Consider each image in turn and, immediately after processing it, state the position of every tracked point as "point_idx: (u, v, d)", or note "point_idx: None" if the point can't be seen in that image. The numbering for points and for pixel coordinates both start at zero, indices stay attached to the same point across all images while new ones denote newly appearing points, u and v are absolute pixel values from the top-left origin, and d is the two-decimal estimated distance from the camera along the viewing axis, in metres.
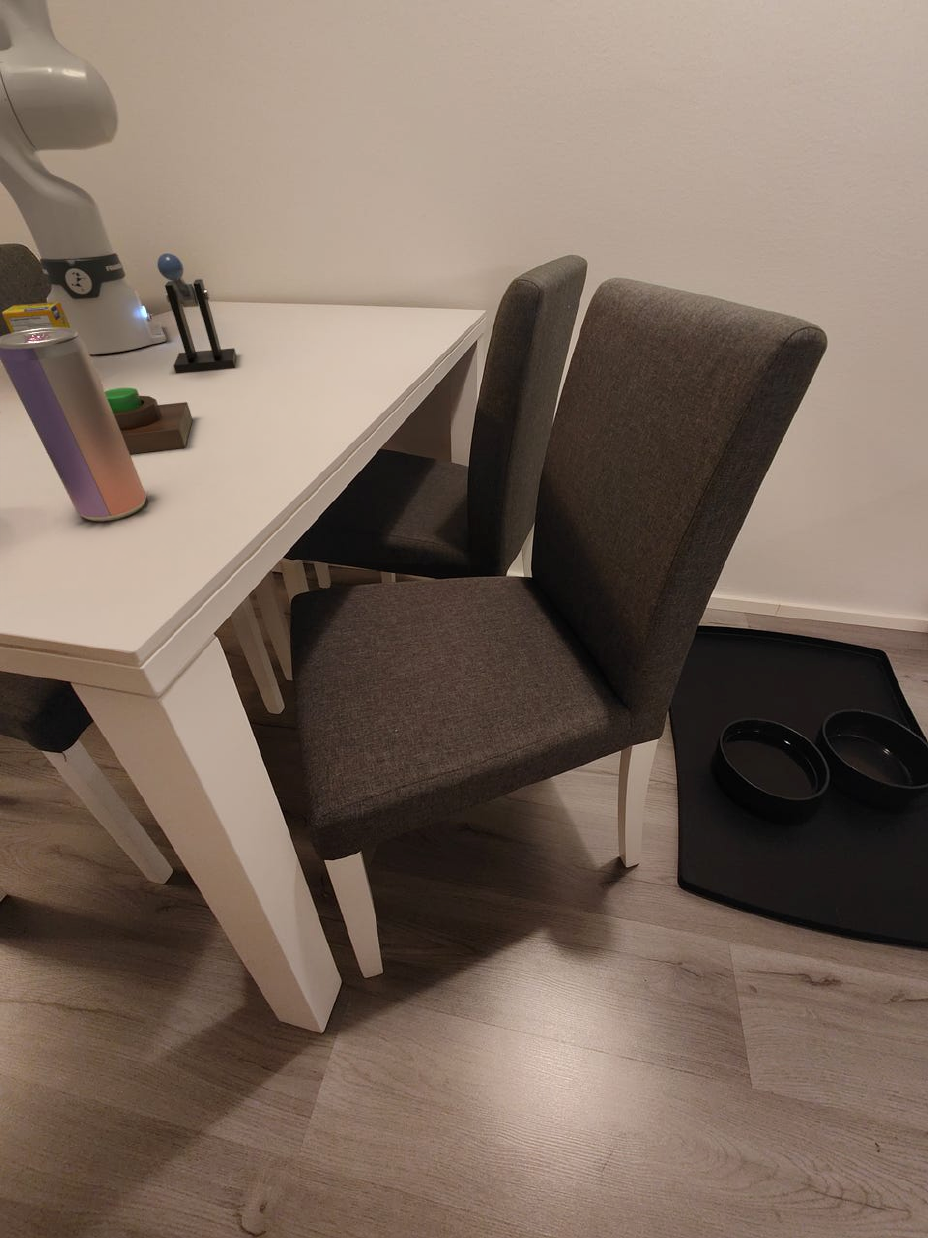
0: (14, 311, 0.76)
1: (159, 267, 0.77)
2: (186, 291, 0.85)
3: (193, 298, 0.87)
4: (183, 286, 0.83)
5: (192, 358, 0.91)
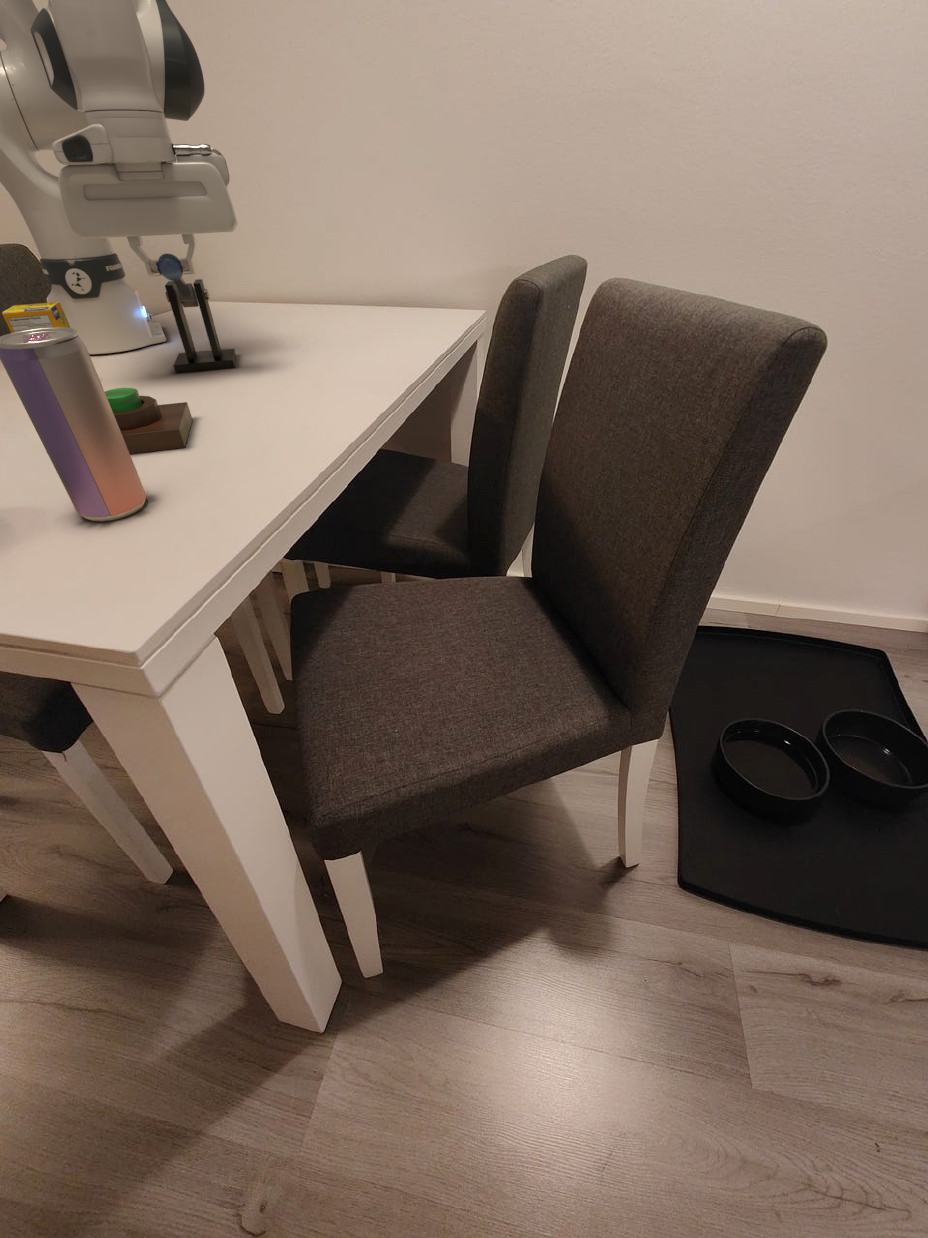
0: (14, 311, 0.76)
1: (159, 267, 0.77)
2: (186, 291, 0.85)
3: (193, 298, 0.87)
4: (183, 286, 0.83)
5: (192, 358, 0.91)
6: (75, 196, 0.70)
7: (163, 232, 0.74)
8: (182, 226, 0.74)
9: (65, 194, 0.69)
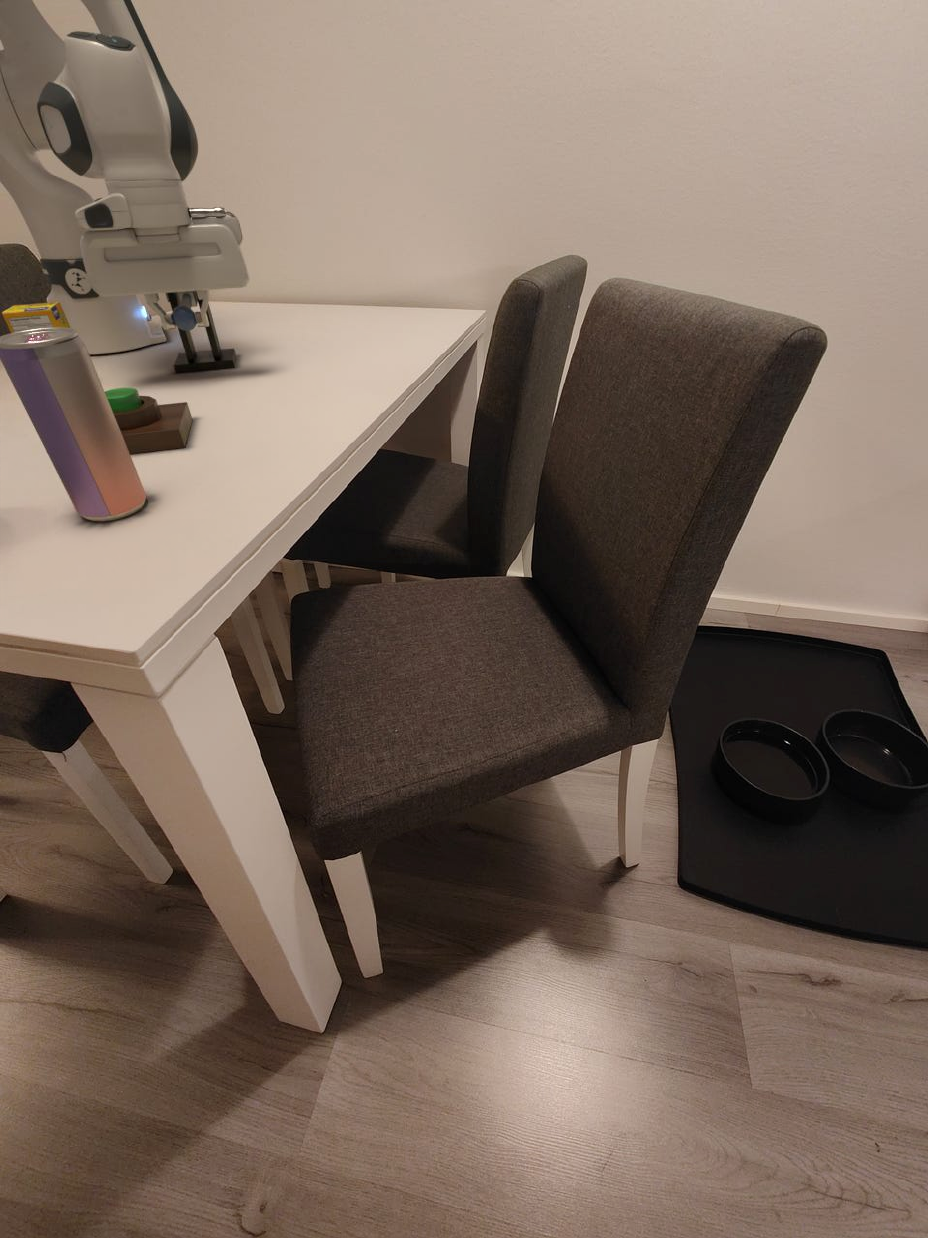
0: (14, 311, 0.76)
1: (175, 323, 0.80)
2: (190, 305, 0.86)
3: (195, 305, 0.88)
4: (189, 309, 0.85)
5: (192, 358, 0.91)
6: (95, 259, 0.73)
7: (179, 289, 0.77)
8: (197, 283, 0.78)
9: (86, 257, 0.72)
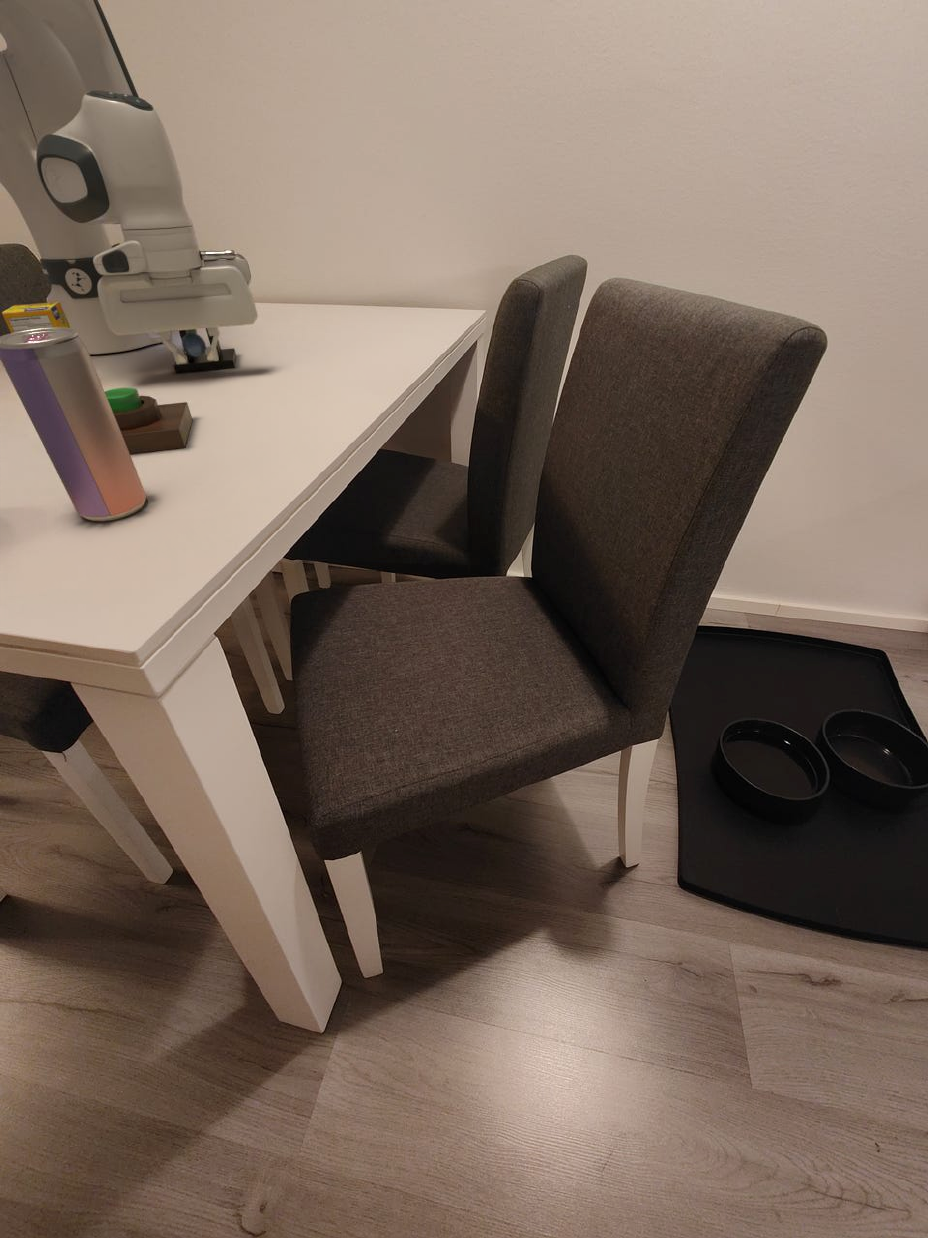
0: (14, 311, 0.76)
1: (186, 351, 0.84)
2: None
3: None
4: None
5: (192, 358, 0.91)
6: (112, 300, 0.77)
7: (190, 327, 0.81)
8: (208, 321, 0.81)
9: (103, 299, 0.76)
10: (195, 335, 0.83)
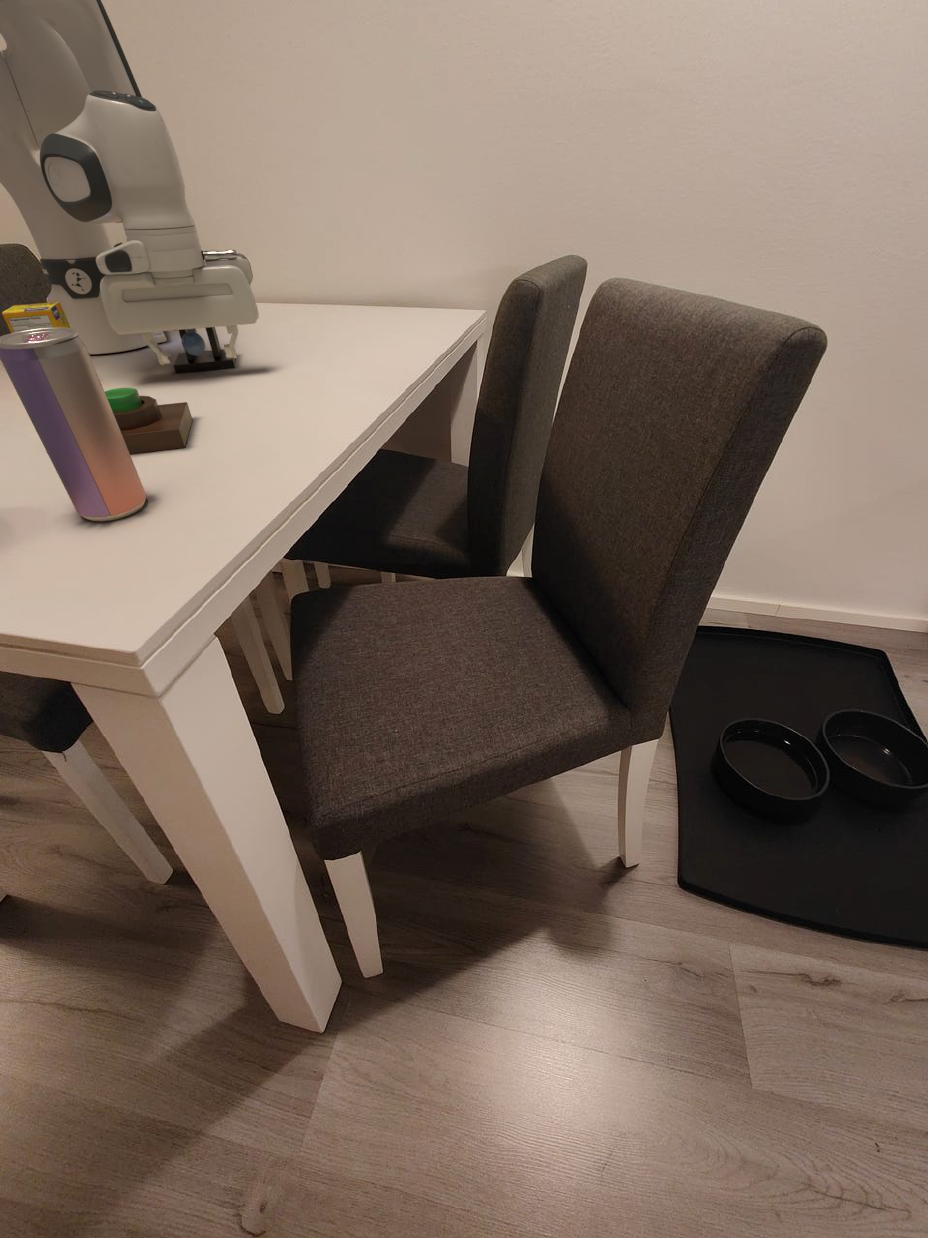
0: (14, 311, 0.76)
1: (185, 350, 0.84)
2: None
3: None
4: None
5: (192, 358, 0.91)
6: (114, 300, 0.77)
7: (192, 326, 0.82)
8: (210, 321, 0.82)
9: (105, 298, 0.76)
10: (195, 334, 0.83)
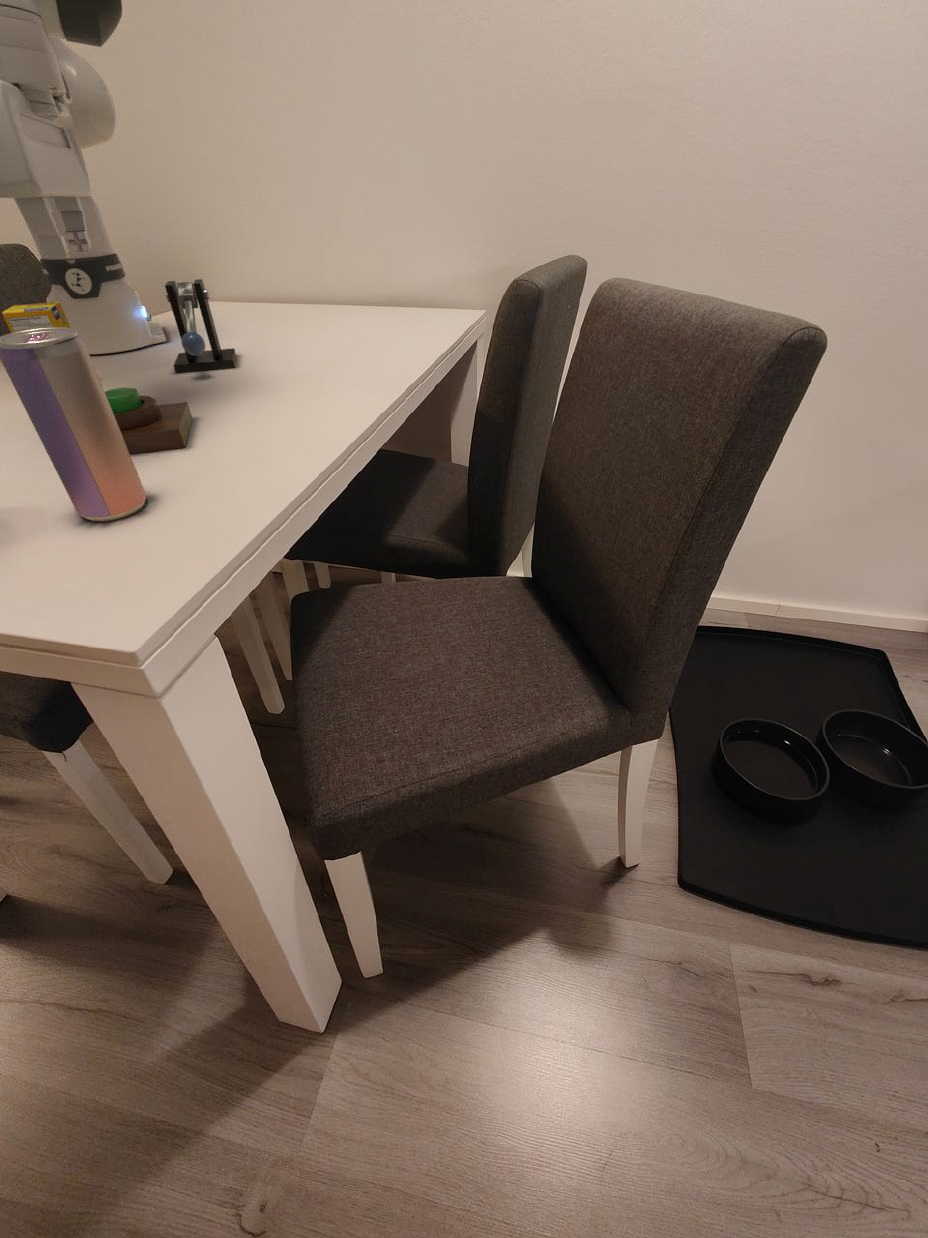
0: (14, 311, 0.76)
1: (185, 350, 0.84)
2: None
3: (196, 307, 0.88)
4: None
5: (192, 358, 0.91)
6: None
7: None
8: None
9: None
10: (195, 334, 0.83)
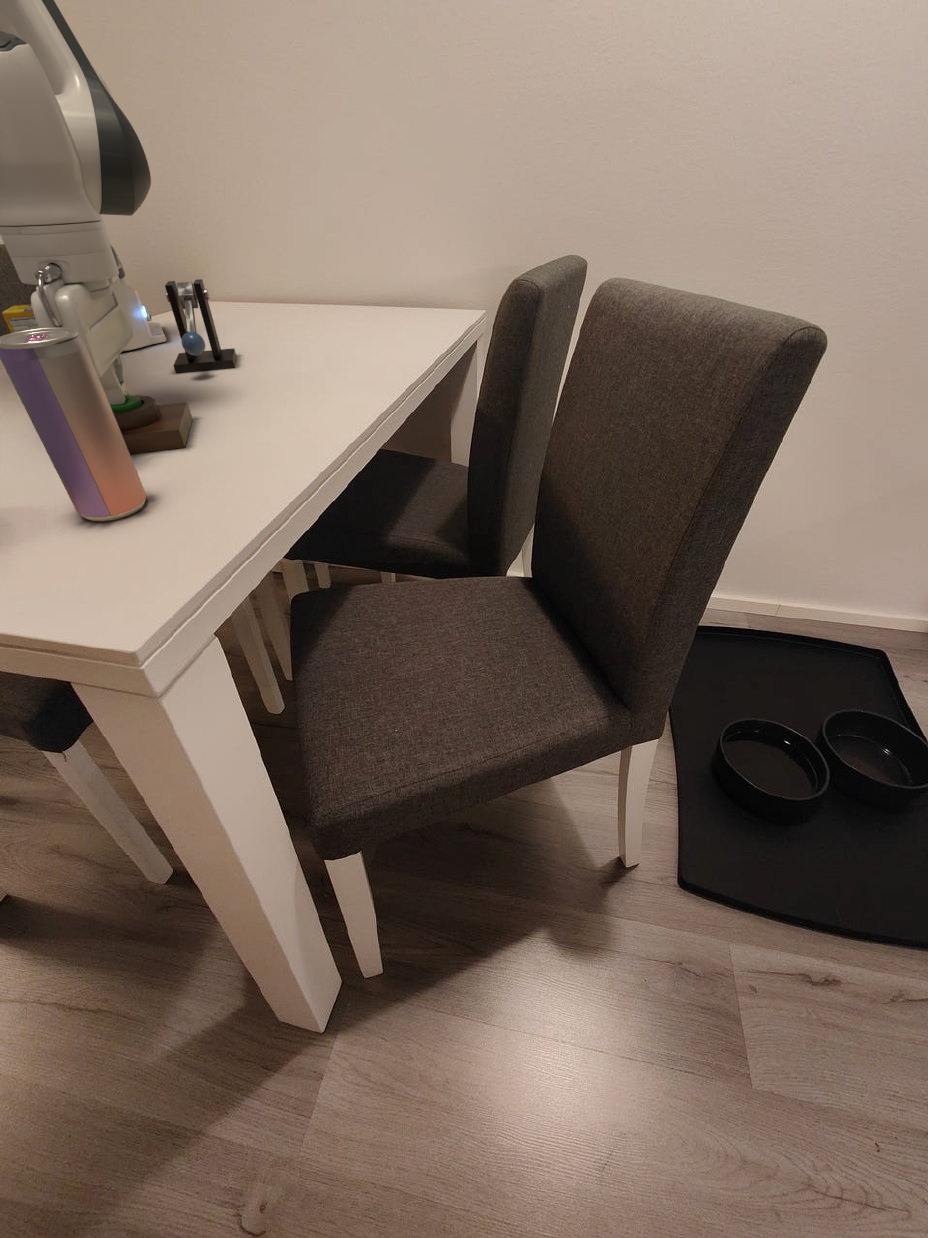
0: (14, 311, 0.76)
1: (185, 350, 0.84)
2: None
3: (196, 307, 0.88)
4: None
5: (192, 358, 0.91)
6: None
7: None
8: None
9: None
10: (195, 334, 0.83)
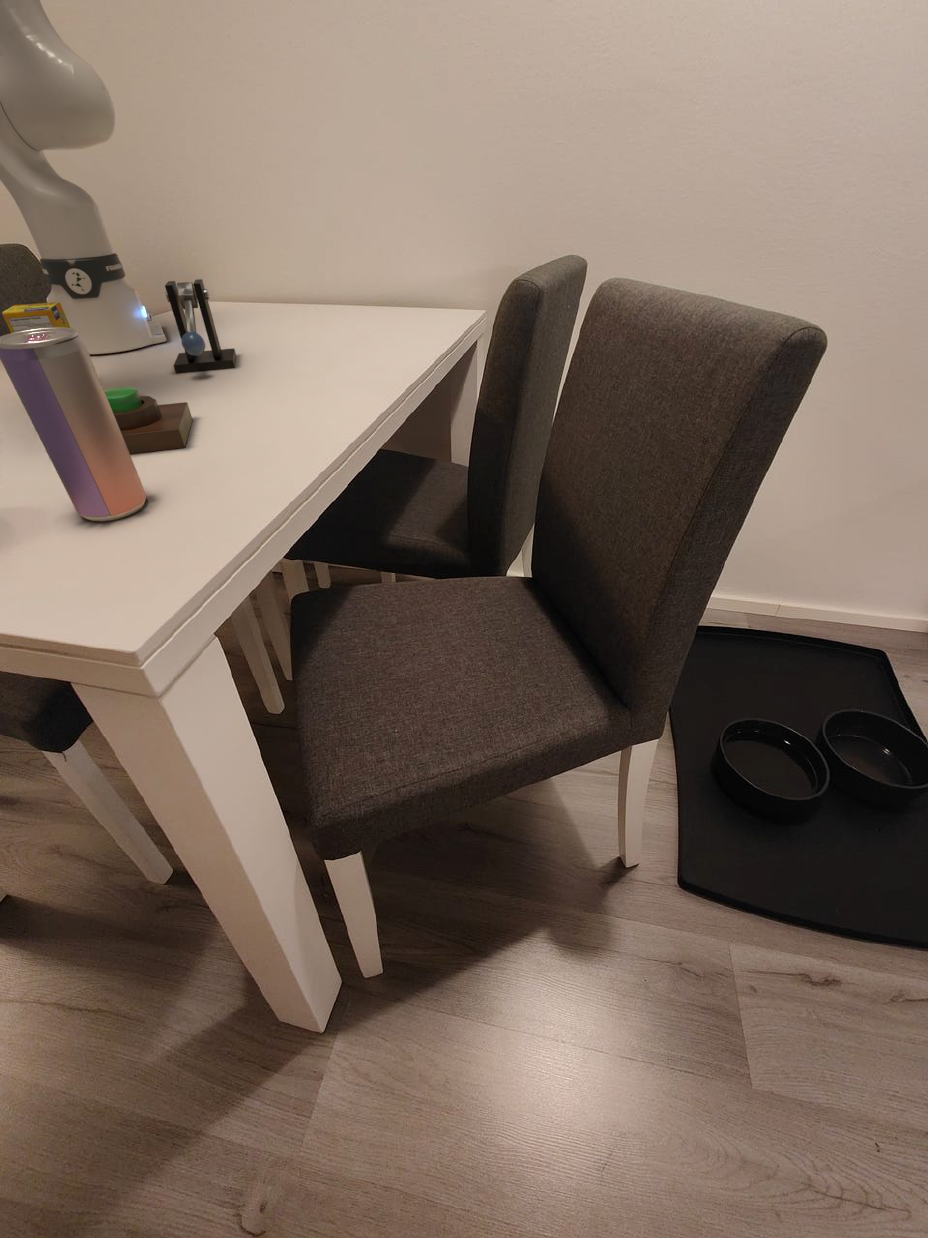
0: (14, 311, 0.76)
1: (185, 350, 0.84)
2: None
3: (196, 307, 0.88)
4: None
5: (192, 358, 0.91)
6: None
7: None
8: None
9: None
10: (195, 334, 0.83)
